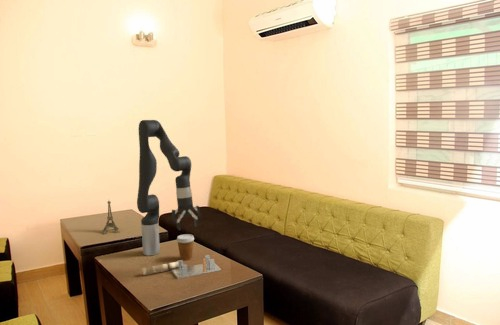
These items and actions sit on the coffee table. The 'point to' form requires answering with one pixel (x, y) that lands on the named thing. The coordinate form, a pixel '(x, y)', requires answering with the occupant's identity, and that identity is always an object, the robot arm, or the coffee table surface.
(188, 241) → the disposable coffee cup
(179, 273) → the white peg stand
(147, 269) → the dowel
